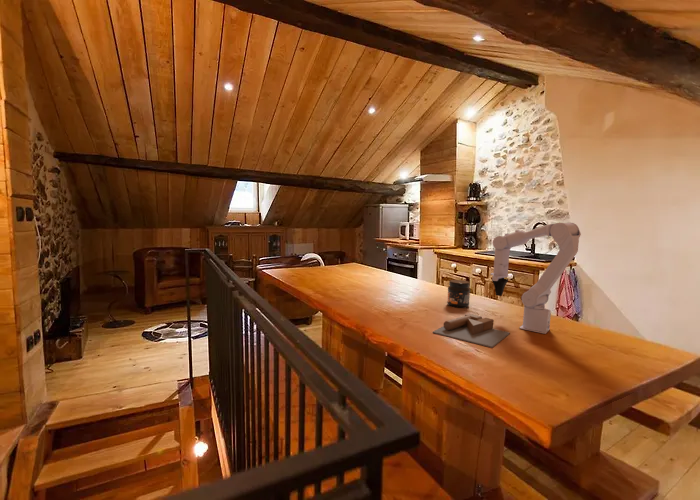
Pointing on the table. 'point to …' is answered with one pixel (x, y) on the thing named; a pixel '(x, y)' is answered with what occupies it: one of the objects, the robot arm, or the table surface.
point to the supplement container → (458, 293)
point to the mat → (482, 338)
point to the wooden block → (470, 323)
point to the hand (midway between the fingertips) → (498, 295)
